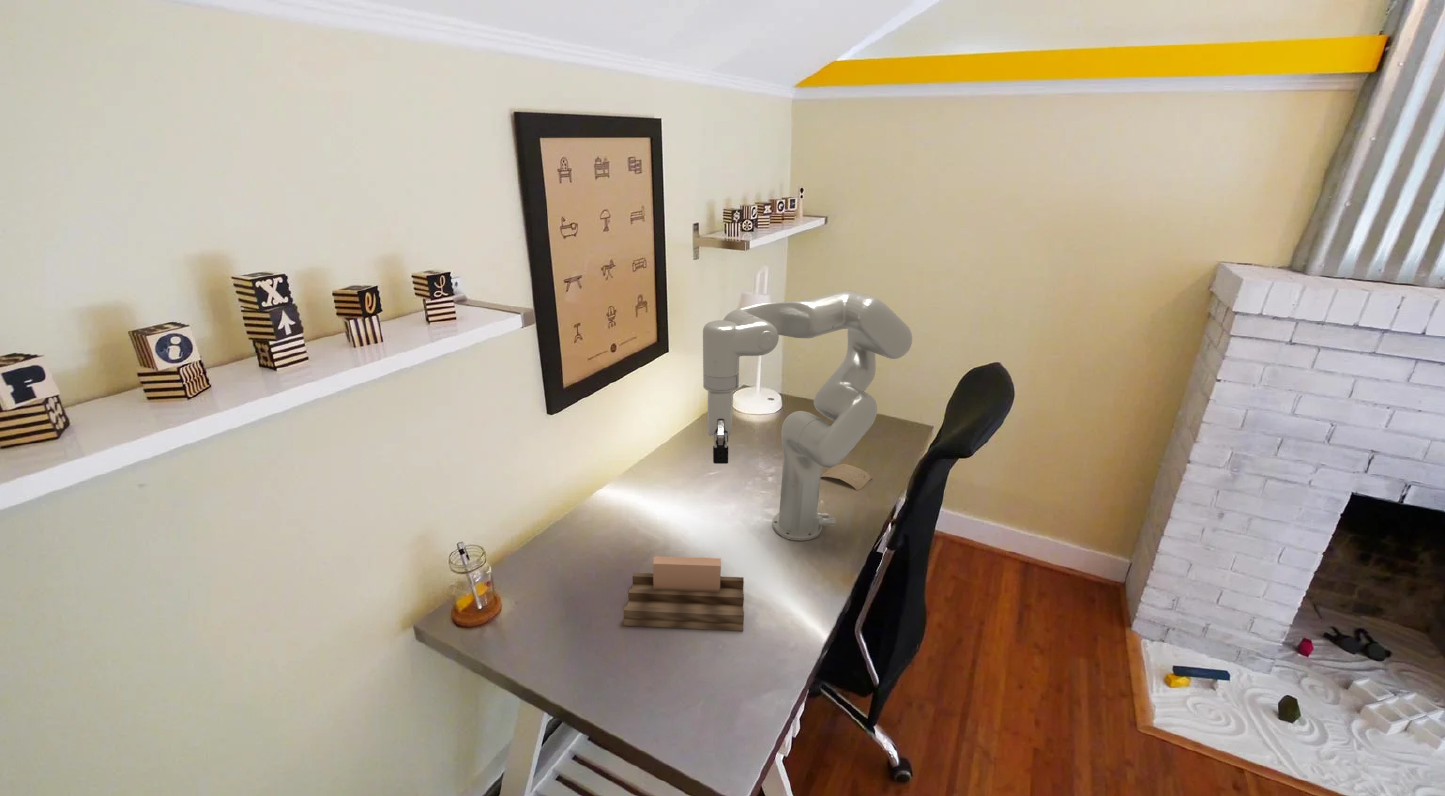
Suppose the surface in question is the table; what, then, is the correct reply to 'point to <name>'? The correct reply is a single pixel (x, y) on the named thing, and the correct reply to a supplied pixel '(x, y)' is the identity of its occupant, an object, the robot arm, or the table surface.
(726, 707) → the table surface
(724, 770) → the table surface
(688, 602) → the wooden stepped riser
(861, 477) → the tan curved panel
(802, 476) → the robot arm
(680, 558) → the clay strip
